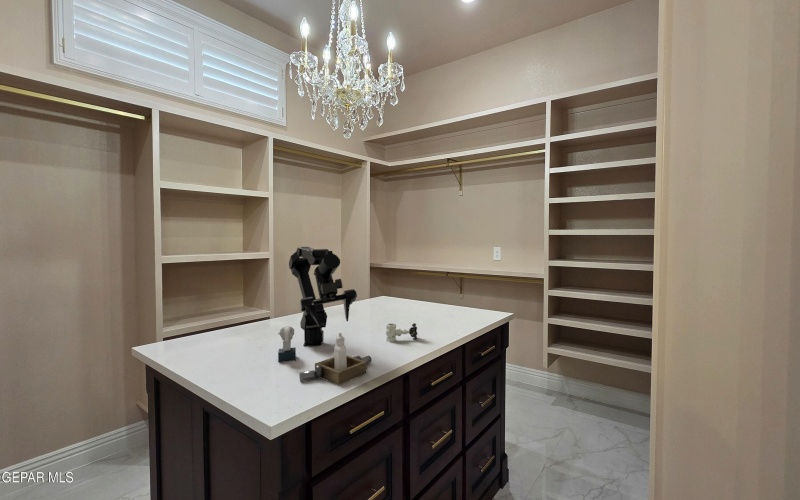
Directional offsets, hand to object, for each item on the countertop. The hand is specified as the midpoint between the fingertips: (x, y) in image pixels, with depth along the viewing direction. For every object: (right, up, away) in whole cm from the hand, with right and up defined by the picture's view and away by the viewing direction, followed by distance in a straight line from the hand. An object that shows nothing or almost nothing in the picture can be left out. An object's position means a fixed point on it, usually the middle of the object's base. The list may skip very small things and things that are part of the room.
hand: (333, 323), depth 116 cm
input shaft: (+10, -13, -3) cm, 16 cm away
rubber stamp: (-16, -13, +3) cm, 21 cm away
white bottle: (+4, -13, -10) cm, 17 cm away
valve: (+22, -12, +23) cm, 34 cm away
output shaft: (-4, -13, -14) cm, 19 cm away
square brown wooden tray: (+4, -13, -10) cm, 17 cm away
